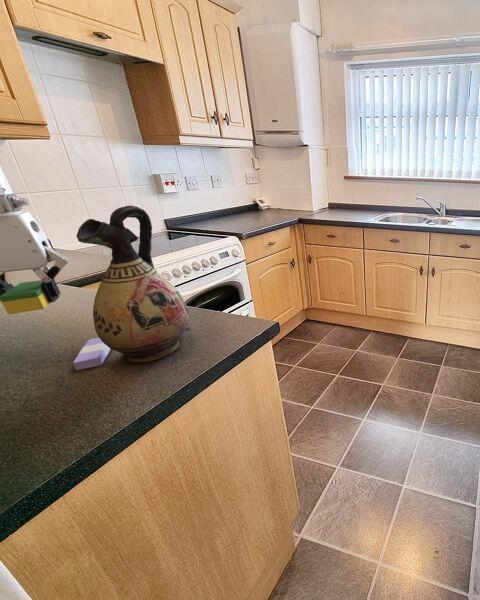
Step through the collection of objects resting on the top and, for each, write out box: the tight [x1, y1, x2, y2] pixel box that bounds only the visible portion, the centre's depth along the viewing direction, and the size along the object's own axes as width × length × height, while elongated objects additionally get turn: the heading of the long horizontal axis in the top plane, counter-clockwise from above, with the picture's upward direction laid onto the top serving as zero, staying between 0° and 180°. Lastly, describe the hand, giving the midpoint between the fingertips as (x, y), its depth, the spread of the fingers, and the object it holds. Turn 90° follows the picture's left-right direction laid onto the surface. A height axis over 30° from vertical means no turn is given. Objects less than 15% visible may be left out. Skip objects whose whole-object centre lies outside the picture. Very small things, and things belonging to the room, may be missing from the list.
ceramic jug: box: [76, 205, 190, 363], centre depth 67 cm, size 17×15×30 cm
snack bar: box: [72, 337, 112, 371], centre depth 70 cm, size 10×4×2 cm, turn 26°
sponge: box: [0, 279, 52, 315], centre depth 65 cm, size 8×5×4 cm, turn 27°
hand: (34, 301), depth 65 cm, fingers closed on sponge, 5 cm apart
